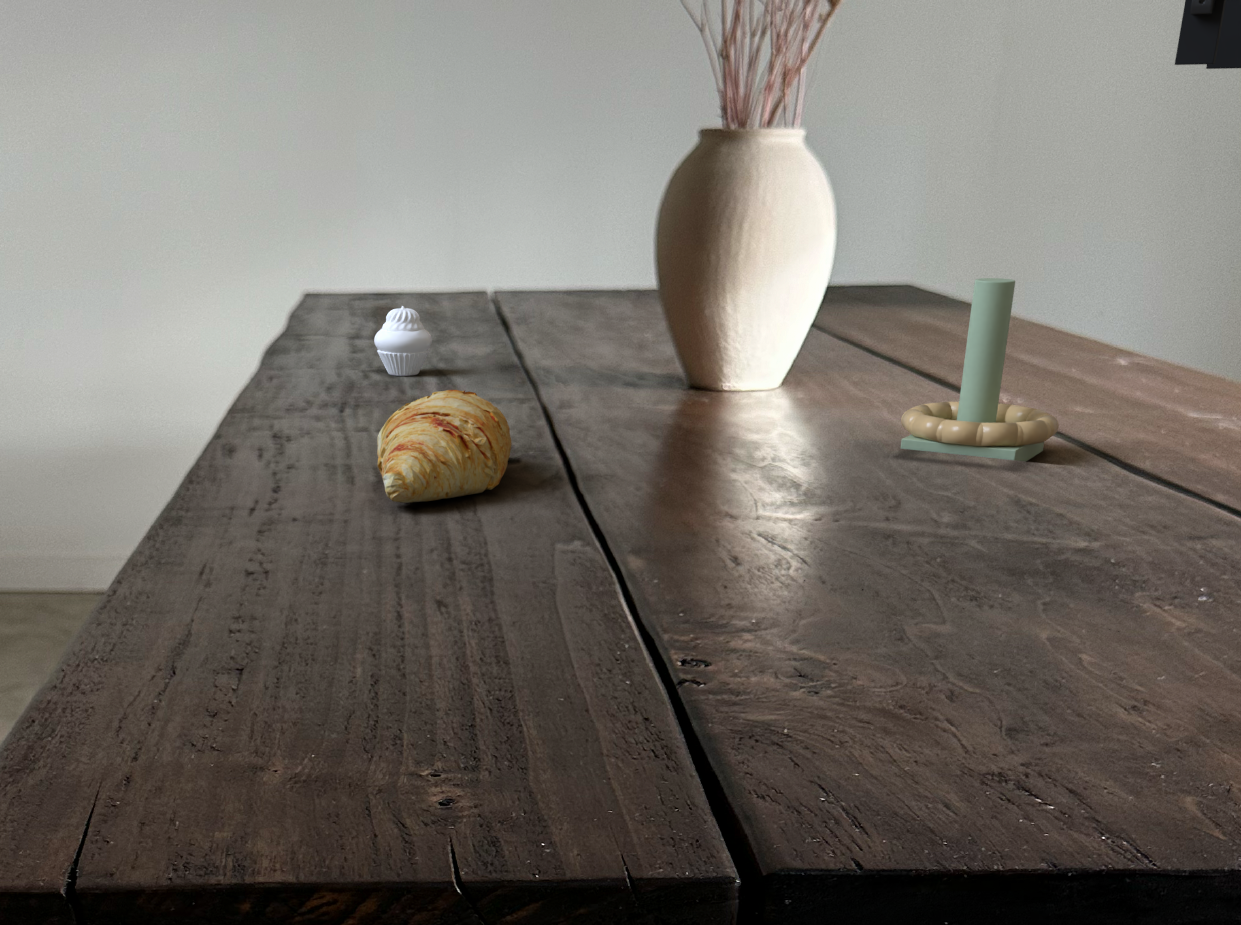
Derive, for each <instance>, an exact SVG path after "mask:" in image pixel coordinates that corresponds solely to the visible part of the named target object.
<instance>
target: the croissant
mask: <svg viewBox="0 0 1241 925" xmlns="http://www.w3.org/2000/svg"><path fill="white" fill-rule="evenodd" d="M510 430H511V428H510V426H509V423H508V420H507V418H506V417H505V415H504V413H503V412H502V411H501V409H499V408H498V407H497V406H495V405H494V404H492V402H491V401H488V400H487V399H485V398H482V397H481V396H479V395H478V394H477V392H473V391H466V390H458V389H446V390H442V391H441V390H440V391H433V392H432V393H431V395H427V396H423V397H420V398H418V399H417V398H416V400H413V401H412V402H407V403H405V404H404V405H402V406H400V407H399V408H398V409H397V410H395V412H393V413H392V414H391V415H390V417H388V419H387V420H386V422H385V423H384V424H383V426H382V427H381V429H380V430H379V432H378V435H377V438H376V439H377V440H376V443H377V451H376V453H377V457H378V458H377V469H378V471H379V473H380V475H381V479H382V482H383V486H384V491H385V494H386V497H387V498H388V499H389V500H391V501H392V502H396V503H404V504H405V503H419V502H421V503H422V502H432V501H439V500H442V499H443V500H444V499H451V498H458V497H464V496H470V495H475V494H482V493H483V492H485V491H487V490H493V489H494V488H495V487H497V486H498V485H499V484H500V483H501V480H502V478H503V476H504V475H505V472H506V470H507V467H508V463H509V462H508V461H509V458H510V456H511V451H512V436H511V433H510V432H511V431H510Z"/></svg>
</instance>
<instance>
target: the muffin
mask: <svg viewBox="0 0 1241 925" xmlns="http://www.w3.org/2000/svg"><path fill="white" fill-rule="evenodd" d="M420 316H421V315H420V314H419V313H418V312H417V311H416V310H415V309H413V308H408V307H405V306H404V305H401V307H398V308H393V309H391V310H390V311H388V313H387V315H386V316H385V322H384V323H383V325H382V326H381V328H380V329H379V330H378V331H377V332H376V334H375V335H374V339H373V340H374V345H375V347H376V349H377V350H376V352H377V354H378V356H379V359H380V360H381V362H382V364H383V366H384V368H385V369H386V372H387V373H388V375H390V376H397V377H408V376H417V375H418V374H419V373H420V371H421V369H422V367H423V365H424V363H425V361H426V358H427V357H428V354H429V353H430V350H429V349H430V347H431V345H432V343H433V337H432V335H431V333H430V332H429V331H428V329H426V328H425V327H424V324H423V323H422V322H421V317H420Z"/></svg>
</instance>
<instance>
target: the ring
mask: <svg viewBox="0 0 1241 925" xmlns="http://www.w3.org/2000/svg"><path fill="white" fill-rule="evenodd" d="M958 407H959V401H939V402H930V403H921V404H918V405H916V406H913V407H911V408H909V409H908V410H906V411H905V412H904V413H903V414H902V416H901V419H900V423H901V426H902V428H903V429H904V430H905V431H906V432H908V433H909V434H910V435H911V434H912V435H913V436H915V437H919V438H923V439H927V440H932V441H936V442H941V443H949V444H960V445H970V446H1022V445H1030V444H1037V443H1042V442H1044V443H1045V442H1046V441H1048V440H1049V439H1050V438H1052V437H1054V436H1055V435H1056V434H1057V432H1058V431H1059V429H1060V428H1059V427H1060V424H1059V420H1058V419H1057V417H1055V416H1054V415H1052V414H1050V413H1048V412H1047V411H1044V410H1042V409H1039V408H1034V407H1030V406H1029V407H1028V406H1023V405H1018V404H1010V403H998V410H997V417H996V423H980V422H969V421H957V415H958Z"/></svg>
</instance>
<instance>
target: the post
mask: <svg viewBox="0 0 1241 925" xmlns="http://www.w3.org/2000/svg"><path fill="white" fill-rule="evenodd" d="M973 284H974V285H973V292H972V300H971V307H970V315H969V323H968V330H967V337H966V347H965V354H964V362H963V369H962V376H961V384H960V392H959V399H958V402H959V407H958V415H957V421H969V422H980V423H996V417H997V410H998V403H999V401H1000V395H1001V388H1002V381H1003V380H1002V379H1003V374H1004V365H1005V358H1006V352H1007V344H1008V337H1009V330H1010V323H1011V316H1012V315H1011V314H1012V308H1013V301H1014V295H1015V289H1016V288H1015V286H1016V280H1015V279H1012V278H998V277H997V278H996V277H982V278H975V280H974V283H973ZM1044 445H1045V442H1042V443H1037V444H1030V445H1022V446H970V445H960V444H949V443H941V442H936V441H932V440H927V439H923V438H919V437H915V436H913V435H912V434H911V433H910V434H909V435H907V436H905V437H903V438H901V440H900V450H901V449H903V450H911V451H919V452H920V451H921V452H930V453H941V454H951V455H959V456H970V457H979V458H989V459H996V460H997V459H998V460H1006V461H1017V462H1028V461H1029V460H1031V459H1033V458H1034V457H1035V456H1038V455H1039V454H1041V453H1042V452H1043V451H1044Z"/></svg>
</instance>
